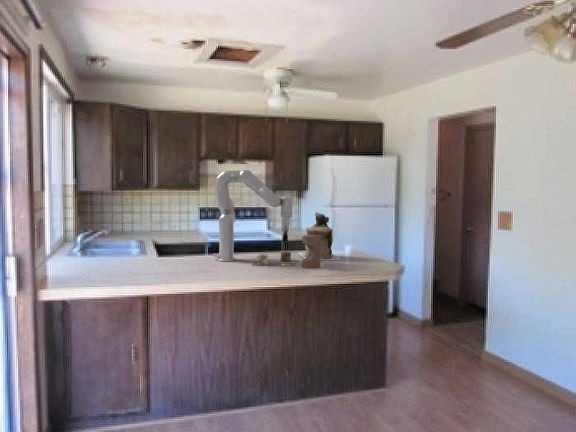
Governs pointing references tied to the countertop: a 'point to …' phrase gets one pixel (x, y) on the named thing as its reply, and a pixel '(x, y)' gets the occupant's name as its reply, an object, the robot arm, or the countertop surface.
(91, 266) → the countertop surface
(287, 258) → the walnut block
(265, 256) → the maple block
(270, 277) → the countertop surface
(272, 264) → the mat
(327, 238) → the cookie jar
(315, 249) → the decorative block
